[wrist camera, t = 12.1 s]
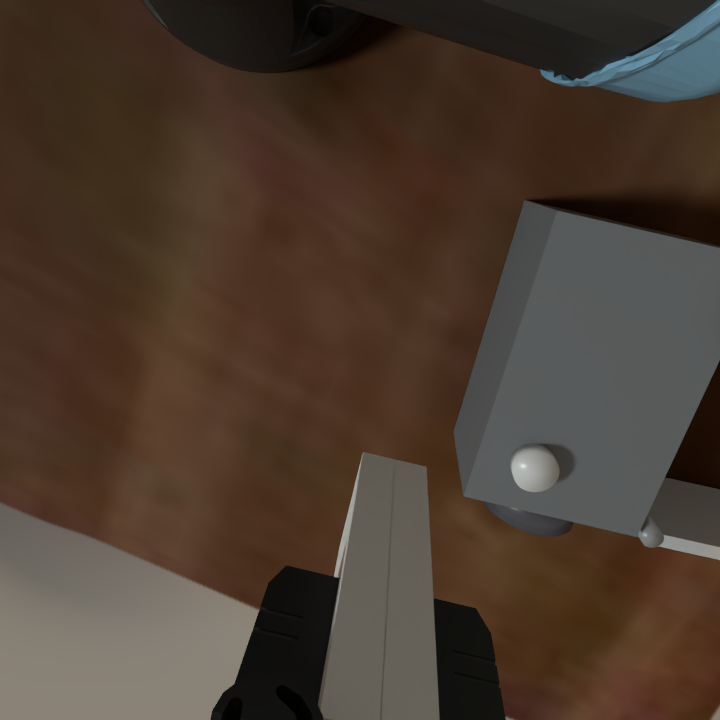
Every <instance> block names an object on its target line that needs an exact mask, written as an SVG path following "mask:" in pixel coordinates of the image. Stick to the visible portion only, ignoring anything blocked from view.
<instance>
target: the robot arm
mask: <svg viewBox="0 0 720 720" xmlns="http://www.w3.org/2000/svg"><path fill="white" fill-rule="evenodd" d="M141 1H142V2H143V4H144V5H145V6H146V8H147V9H148V10H149V11H150V12H151V14H152V15H153V16H154V17H155V18H156V19H157V20H158V21H159V22H160V23H161V25H162V26H163V27H164V28H165V29H167V30H168V31H169V32H170V33H171V34H172V35H173V36H174V37H176V38H177V39H178V40H180V41H181V42H182V43H184V44H185V45H187V46H188V47H190V48H191V49H193V50H195V51H197V52H199V53H200V54H202V55H204V56H206V57H208V58H210V59H212V60H214V61H216V62H218V63H220V64H223V65H226V66H228V67H231V68H235V69H239V70H243V71H249V72H258V73H273V72H283V71H289V70H293V69H297V68H300V67H303V66H306V65H309V64H311V63H313V62H316V61H318V60H319V59H321V58H323V57H325V56H327V55H328V54H330V53H331V52H333V51H334V50H336V49H337V48H338V47H340V46H341V45H342V44H343V43H344V42H346V41H347V40H348V39H349V38H350V37H351V36H352V35H353V34H354V33H355V32H356V31H357V30H358V29H359V27H360V26H361V25H362V24H363V23H364V21H365V20H366V19H367V17H368V16H369V15H370V16H373V17H377V18H380V19H383V20H386V21H389V22H392V23H395V24H399V25H402V26H405V27H408V28H411V29H414V30H417V31H421V32H424V33H427V34H430V35H433V36H436V37H439V38H443V39H446V40H449V41H452V42H455V43H458V44H462V45H465V46H468V47H471V48H474V49H477V50H480V51H484V52H487V53H490V54H493V55H496V56H499V57H502V58H506V59H509V60H512V61H515V62H518V63H521V64H524V65H528V66H531V67H534V68H537V69H540V71H541V74H542V75H543V77H545V78H546V79H548V80H550V81H552V82H554V83H557V84H560V85H563V86H572V87H573V86H586V87H587V86H596V87H600V88H603V89H607V90H611V91H615V92H618V93H622V94H626V95H630V96H633V97H637V98H641V99H645V100H649V101H655V102H672V101H677V100H685V99H697V98H700V97H703V96H708V95H713V94H716V93H719V92H720V0H141ZM211 720H506V719H505V713H504V708H503V702H502V696H501V690H500V688H499V678H498V672H497V666H496V665H495V655H494V649H493V643H492V637H491V633H490V631H489V630H488V628H487V626H486V625H485V623H484V621H483V619H482V618H481V616H480V614H479V613H478V611H477V609H476V608H472V607H468V606H464V605H459V604H455V603H451V602H447V601H442V600H438V599H434V598H433V583H432V564H431V545H430V525H429V506H428V487H427V468H426V467H425V466H421V465H416V464H412V463H408V462H404V461H399V460H395V459H391V458H386V457H382V456H378V455H374V454H369V453H365V452H363V454H362V458H361V462H360V466H359V470H358V474H357V478H356V482H355V486H354V491H353V495H352V499H351V503H350V507H349V511H348V515H347V519H346V523H345V527H344V531H343V535H342V539H341V543H340V547H339V553H338V558H337V564H336V569H335V574H334V577H333V576H328V575H324V574H320V573H316V572H312V571H307V570H303V569H299V568H295V567H290V566H286V567H284V568H283V569H282V570H281V571H280V572H279V573H278V574H277V575H276V576H275V577H274V578H273V579H272V580H271V581H270V582H269V583H268V586H267V589H266V592H265V595H264V598H263V601H262V604H261V607H260V611H259V613H258V616H257V619H256V622H255V625H254V628H253V632H252V634H251V637H250V640H249V643H248V646H247V648H246V651H245V654H244V657H243V661H242V664H241V666H240V669H239V672H238V675H237V678H236V681H235V684H234V685H233V686H232V687H230V688H229V689H228V690H226V691H225V692H224V693H223V694H222V696H221V697H220V699H219V701H218V702H217V704H216V706H215V707H214V709H213V711H212V715H211Z"/></svg>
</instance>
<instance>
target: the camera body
mask: <svg viewBox="0 0 720 720" xmlns="http://www.w3.org/2000/svg"><path fill="white" fill-rule="evenodd" d="M719 361H720V246H718V245H714V244H710V243H707V242H703V241H699V240H695V239H692V238H688V237H684V236H679V235H675V234H671V233H666V232H662V231H658V230H653V229H649V228H645V227H640V226H636V225H632V224H627V223H623V222H619V221H614V220H610V219H606V218H601V217H597V216H593V215H588V214H584V213H579V212H575V211H571V210H566V209H562V208H558V207H553V206H549V205H545V204H540V203H536V202H532V201H527V200H524V204H523V207H522V210H521V213H520V217H519V220H518V223H517V226H516V230H515V233H514V236H513V239H512V243H511V246H510V249H509V253H508V256H507V259H506V262H505V266H504V269H503V272H502V275H501V279H500V282H499V285H498V288H497V292H496V295H495V298H494V302H493V305H492V308H491V311H490V315H489V318H488V321H487V324H486V328H485V331H484V334H483V337H482V341H481V344H480V347H479V350H478V354H477V357H476V360H475V364H474V367H473V370H472V373H471V377H470V380H469V383H468V386H467V390H466V393H465V396H464V399H463V403H462V406H461V409H460V412H459V416H458V419H457V422H456V426H455V429H454V432H453V433H454V439H455V445H456V452H457V458H458V464H459V471H460V477H461V483H462V489H463V496H464V497H469V498H473V499H477V500H481V501H483V503H484V504H485V505H486V507H487V508H488V509H489V510H490V511H491V512H492V513H493V514H495V515H496V516H497V517H498V518H500V519H501V520H503V521H504V522H506V523H508V524H509V525H511V526H513V527H515V528H518V529H520V530H523V531H526V532H528V533H532V534H536V535H541V536H560V535H564V534H566V533H568V532H569V531H570V530H571V528H572V526H573V524H574V522H575V523H579V524H584V525H588V526H592V527H596V528H601V529H605V530H609V531H614V532H618V533H622V534H626V535H631V536H635V537H637V536H638V534H639V532H640V530H641V527H642V525H643V523H644V521H645V519H646V517H647V515H648V512H649V510H650V508H651V506H652V504H653V502H654V500H655V498H656V495H657V493H658V491H659V489H660V487H661V485H662V483H663V480H664V478H665V476H666V474H667V472H668V470H669V468H670V466H671V463H672V461H673V459H674V457H675V455H676V453H677V451H678V448H679V446H680V444H681V442H682V440H683V438H684V436H685V434H686V431H687V429H688V427H689V425H690V423H691V421H692V419H693V416H694V414H695V412H696V410H697V408H698V406H699V404H700V401H701V399H702V397H703V395H704V393H705V391H706V389H707V387H708V384H709V382H710V380H711V378H712V376H713V374H714V372H715V369H716V367H717V365H718V363H719Z"/></svg>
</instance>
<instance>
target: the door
mask: <svg viewBox="0 0 720 720" xmlns="http://www.w3.org/2000/svg"><path fill="white" fill-rule="evenodd" d="M638 536H639V538H640V539H641V541H642V543H643V544H644V545H645V546H646V547H650V548H654V547H658V546H659V547H664V548H668V549H673V550H677V551H682V552H686V553H691V554H695V555H700V556H704V557H709V558H713V559H718V560H720V489H716V488H711V487H707V486H702V485H697V484H693V483H688V482H684V481H679V480H675V479H670V478H666V477H665V478H664V480H663V483H662V485H661V487H660V489H659V491H658V493H657V495H656V498H655V500H654V502H653V504H652V506H651V508H650V510H649V512H648V515H647V517H646V519H645V521H644V523H643V525H642V527H641V530H640V532H639V534H638Z"/></svg>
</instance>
